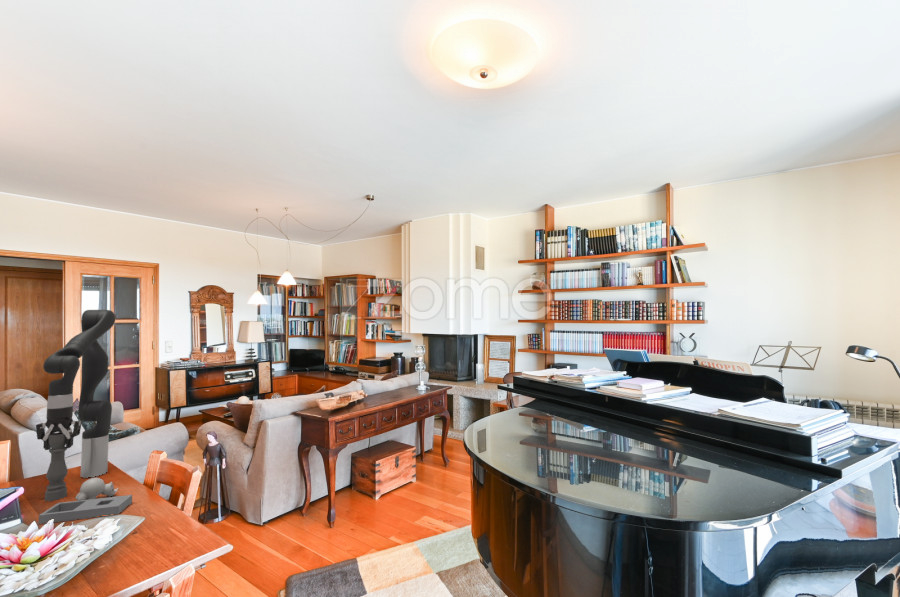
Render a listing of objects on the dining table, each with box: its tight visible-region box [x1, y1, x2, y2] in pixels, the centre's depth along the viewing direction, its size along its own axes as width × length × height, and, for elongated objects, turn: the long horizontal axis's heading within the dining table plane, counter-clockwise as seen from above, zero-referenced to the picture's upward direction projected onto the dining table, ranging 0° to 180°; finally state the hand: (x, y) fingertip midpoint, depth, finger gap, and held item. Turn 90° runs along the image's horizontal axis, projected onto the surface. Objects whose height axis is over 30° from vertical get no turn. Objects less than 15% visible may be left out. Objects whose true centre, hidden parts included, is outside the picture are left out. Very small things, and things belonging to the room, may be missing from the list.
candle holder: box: [44, 432, 69, 502], centre depth 159 cm, size 6×6×25 cm
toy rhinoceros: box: [74, 477, 119, 501], centre depth 157 cm, size 7×12×8 cm, turn 137°
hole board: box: [38, 494, 133, 525], centre depth 145 cm, size 10×23×3 cm, turn 106°
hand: (58, 448), depth 160 cm, fingers open, 6 cm apart
